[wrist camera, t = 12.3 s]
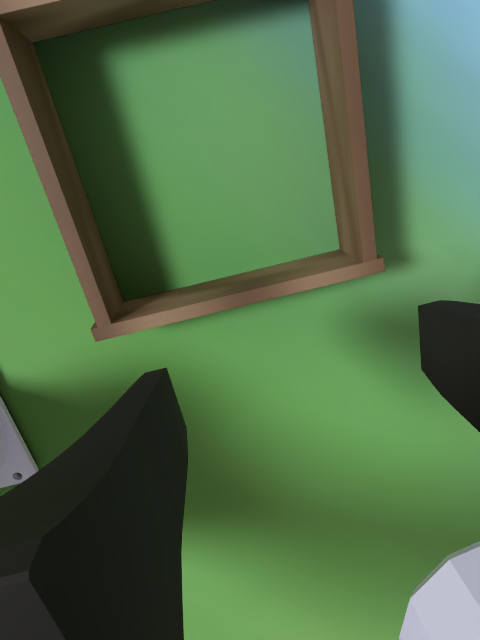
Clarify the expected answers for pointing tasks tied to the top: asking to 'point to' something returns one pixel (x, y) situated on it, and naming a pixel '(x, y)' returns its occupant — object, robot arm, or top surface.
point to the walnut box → (72, 204)
